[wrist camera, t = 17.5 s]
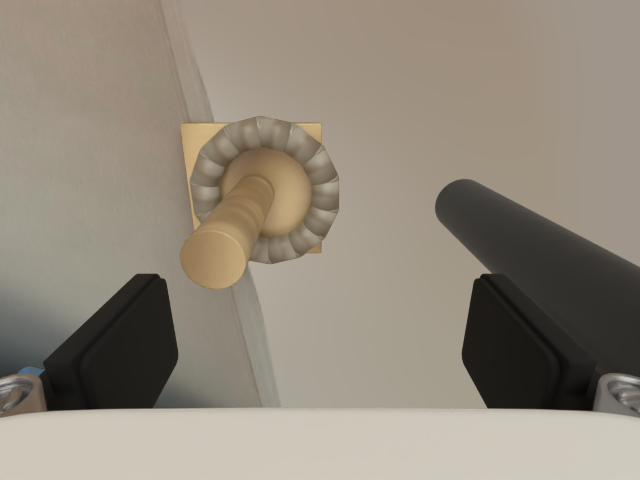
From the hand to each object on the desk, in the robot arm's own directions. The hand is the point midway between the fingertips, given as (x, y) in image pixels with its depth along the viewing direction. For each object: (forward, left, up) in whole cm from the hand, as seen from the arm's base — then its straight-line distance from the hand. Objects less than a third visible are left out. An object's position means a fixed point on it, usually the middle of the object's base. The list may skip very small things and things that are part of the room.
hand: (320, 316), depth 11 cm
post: (+4, 0, -16) cm, 17 cm away
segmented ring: (+3, 0, -14) cm, 14 cm away
